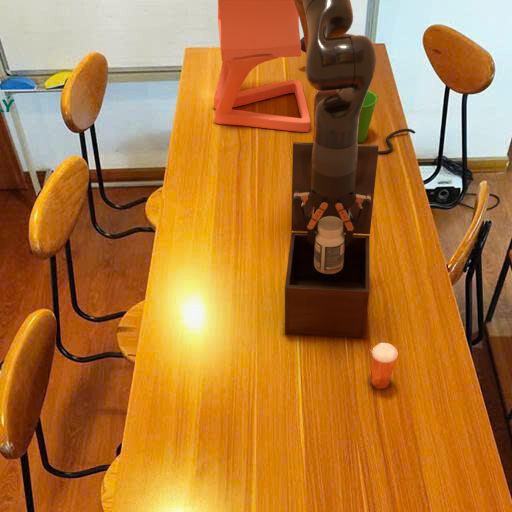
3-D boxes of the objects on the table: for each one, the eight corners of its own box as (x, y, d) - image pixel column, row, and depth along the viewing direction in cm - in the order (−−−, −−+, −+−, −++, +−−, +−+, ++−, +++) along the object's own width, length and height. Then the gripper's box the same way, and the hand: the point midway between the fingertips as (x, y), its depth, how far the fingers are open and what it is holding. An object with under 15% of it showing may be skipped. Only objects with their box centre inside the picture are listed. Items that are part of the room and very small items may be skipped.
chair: (212, 94, 198) (200, -43, 171) (300, 89, 199) (302, -49, 172) (215, 138, 183) (203, -5, 156) (311, 132, 184) (315, -11, 157)
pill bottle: (346, 259, 134) (350, 217, 126) (338, 278, 131) (341, 235, 123) (318, 254, 135) (320, 211, 128) (309, 272, 132) (311, 229, 124)
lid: (378, 146, 124) (378, 144, 125) (292, 143, 126) (293, 142, 126) (369, 234, 136) (369, 232, 136) (291, 231, 137) (291, 229, 138)
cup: (371, 148, 179) (375, 107, 170) (337, 145, 180) (339, 104, 172) (375, 130, 184) (379, 90, 176) (341, 127, 186) (344, 87, 177)
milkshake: (361, 374, 130) (366, 337, 122) (389, 372, 130) (396, 335, 122) (365, 393, 127) (371, 356, 119) (394, 390, 127) (401, 353, 119)
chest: (363, 338, 136) (369, 291, 126) (284, 334, 137) (284, 287, 127) (364, 282, 146) (369, 235, 136) (290, 279, 147) (291, 231, 138)
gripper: (377, 151, 118) (368, 232, 131) (293, 148, 119) (292, 229, 132) (377, 176, 113) (367, 257, 126) (290, 173, 114) (289, 254, 127)
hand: (329, 242), depth 129 cm, fingers closed on pill bottle, 5 cm apart
